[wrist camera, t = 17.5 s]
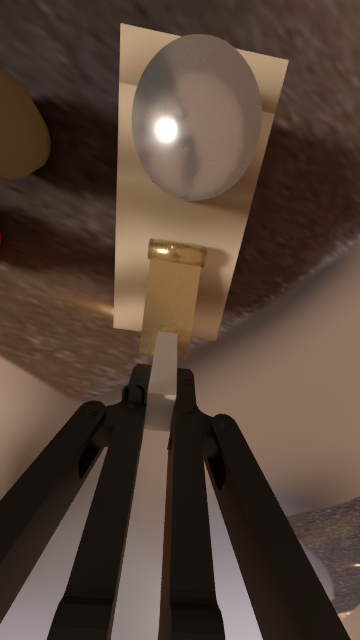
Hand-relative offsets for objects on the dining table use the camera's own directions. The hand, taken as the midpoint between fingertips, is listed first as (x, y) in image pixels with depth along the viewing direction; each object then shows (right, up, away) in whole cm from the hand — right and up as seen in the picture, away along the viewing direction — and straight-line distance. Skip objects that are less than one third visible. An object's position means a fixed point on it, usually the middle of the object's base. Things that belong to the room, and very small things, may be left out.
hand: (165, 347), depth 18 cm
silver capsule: (+2, +18, +5) cm, 18 cm away
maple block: (+1, +14, +9) cm, 17 cm away
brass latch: (0, +4, +1) cm, 4 cm away
